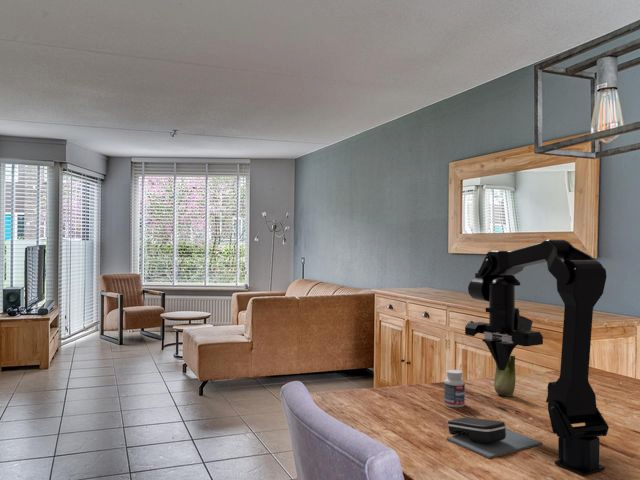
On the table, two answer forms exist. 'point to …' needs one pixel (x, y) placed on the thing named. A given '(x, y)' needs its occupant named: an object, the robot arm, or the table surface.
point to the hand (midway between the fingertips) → (501, 370)
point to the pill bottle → (454, 389)
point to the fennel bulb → (505, 378)
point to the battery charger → (478, 429)
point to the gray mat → (496, 444)
